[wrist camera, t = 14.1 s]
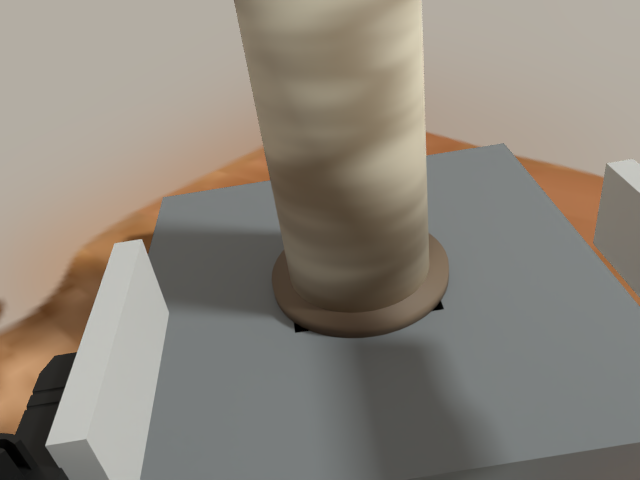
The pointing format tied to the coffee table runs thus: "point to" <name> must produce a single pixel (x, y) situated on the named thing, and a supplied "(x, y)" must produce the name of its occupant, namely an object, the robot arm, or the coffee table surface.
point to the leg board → (398, 349)
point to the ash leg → (346, 160)
